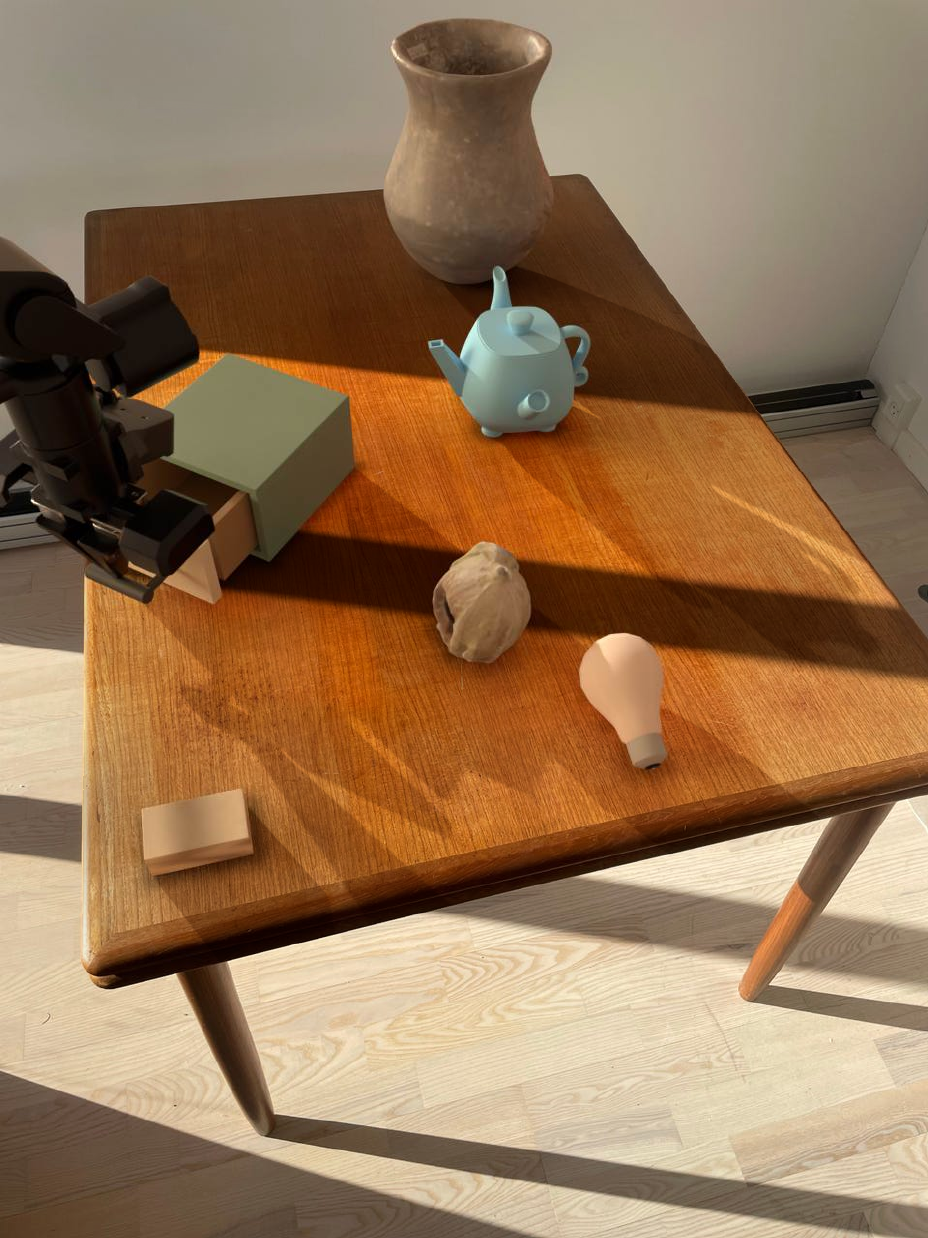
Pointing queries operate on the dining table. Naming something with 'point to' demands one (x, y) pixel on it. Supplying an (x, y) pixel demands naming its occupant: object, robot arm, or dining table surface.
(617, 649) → the light bulb
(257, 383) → the cabinet
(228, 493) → the drawer
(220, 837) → the beige rectangular block
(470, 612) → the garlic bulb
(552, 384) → the teapot
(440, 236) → the vase
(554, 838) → the dining table surface
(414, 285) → the dining table surface
